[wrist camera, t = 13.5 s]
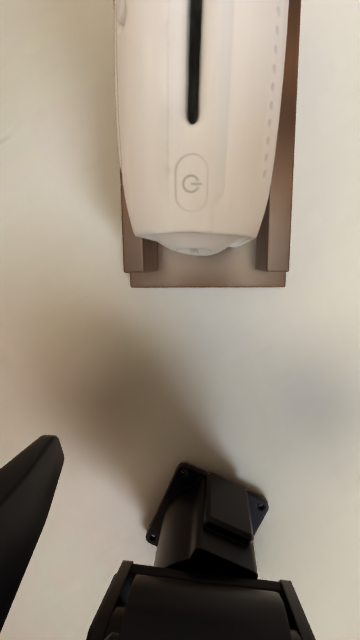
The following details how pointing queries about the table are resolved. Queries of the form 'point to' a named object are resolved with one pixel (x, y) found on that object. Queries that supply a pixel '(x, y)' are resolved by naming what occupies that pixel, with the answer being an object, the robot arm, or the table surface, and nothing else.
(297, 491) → the table surface
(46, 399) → the table surface
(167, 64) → the photo printer
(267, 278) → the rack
